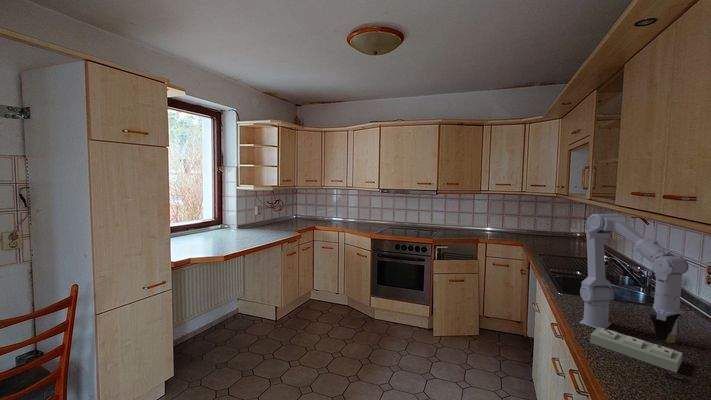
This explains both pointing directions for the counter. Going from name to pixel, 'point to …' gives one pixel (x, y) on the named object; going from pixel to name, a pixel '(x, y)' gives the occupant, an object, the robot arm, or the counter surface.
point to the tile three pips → (608, 333)
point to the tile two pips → (662, 351)
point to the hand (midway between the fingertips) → (663, 335)
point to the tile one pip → (634, 342)
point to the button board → (637, 351)
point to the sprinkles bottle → (672, 334)
